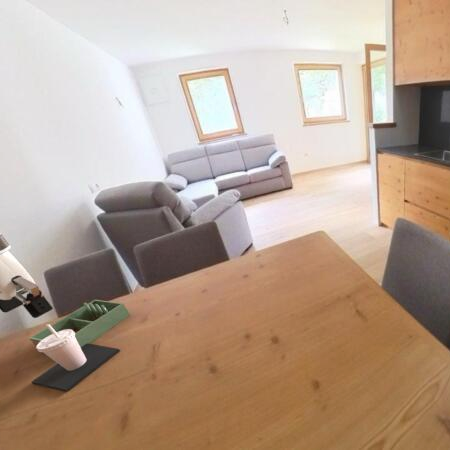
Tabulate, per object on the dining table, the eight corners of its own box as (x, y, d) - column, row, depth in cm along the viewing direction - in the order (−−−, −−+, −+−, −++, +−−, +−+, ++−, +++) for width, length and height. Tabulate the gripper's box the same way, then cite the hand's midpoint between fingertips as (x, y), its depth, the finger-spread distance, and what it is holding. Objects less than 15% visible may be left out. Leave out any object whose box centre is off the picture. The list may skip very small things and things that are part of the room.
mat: (32, 383, 70) (30, 381, 70) (88, 345, 81) (87, 343, 80) (67, 391, 68) (65, 389, 68) (120, 350, 78) (118, 348, 78)
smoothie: (98, 358, 75) (67, 320, 69) (65, 379, 70) (29, 340, 64) (87, 351, 78) (57, 313, 72) (54, 370, 73) (19, 331, 66)
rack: (39, 350, 80) (23, 333, 77) (102, 310, 94) (91, 294, 91) (70, 356, 77) (55, 338, 74) (130, 314, 91) (119, 298, 88)
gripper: (-80, 254, 56) (-21, 317, 64) (-22, 262, 53) (33, 328, 60) (-23, 237, 63) (24, 296, 70) (32, 243, 59) (75, 304, 67)
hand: (28, 310), depth 65 cm, fingers open, 9 cm apart
